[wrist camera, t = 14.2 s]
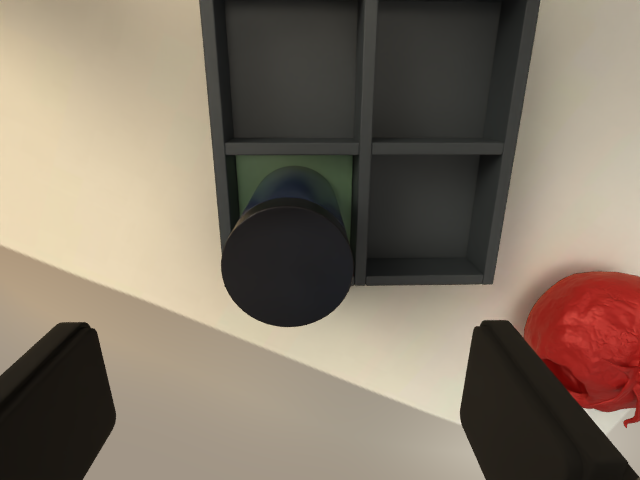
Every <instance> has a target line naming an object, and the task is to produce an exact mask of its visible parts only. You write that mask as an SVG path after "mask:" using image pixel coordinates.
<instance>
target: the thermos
mask: <svg viewBox="0 0 640 480" xmlns="http://www.w3.org/2000/svg"><path fill="white" fill-rule="evenodd" d="M221 272H222V278H223V281H224V284H225V287H226V289H227V291H228V293H229V295H230V296H231V298H232V299H233V301H234V302H235V303H236V304H237V305H238V307H240V308H241V309H242V310H243V311H244V312H245V313H247V314H248V315H249V316H251V317H253V318H255V319H256V320H258V321H261V322H263V323H266V324H270V325H274V326H280V327H298V326H303V325H307V324H310V323H314V322H316V321H318V320H320V319H322V318H324V317H325V316H327V315H329V314H330V313H331V312H332V311H334V310H335V309H336V308H337V307H338V306H339V305H340V303H341V302H342V301H343V299H344V298H345V296H346V295H347V293H348V291H349V288H350V286H351V283H352V279H353V273H354V260H353V255H352V251H351V247H350V244H349V240H348V237H347V233H346V230H345V226H344V223H343V219H342V216H341V212H340V209H339V205H338V202H337V198H336V195H335V192H334V190H333V188H332V186H331V185H330V183H329V182H328V181H327V180H326V178H324V177H323V176H322V175H321V174H320V173H318V172H317V171H315V170H313V169H310V168H307V167H303V166H286V167H282V168H279V169H276V170H274V171H272V172H271V173H269V174H268V175H267V176H266V177H265V178H264V179H263V180H262V181H261V182H260V183H259V185H258V187H257V188H256V190H255V192H254V194H253V195H252V197H251V199H250V201H249V202H248V204H247V206H246V208H245V209H244V211H243V213H242V215H241V216H240V218H239V220H238V222H237V223H236V225H235V227H234V229H233V230H232V232H231V234H230V236H229V237H228V239H227V242H226V244H225V246H224V249H223V253H222V259H221Z"/></svg>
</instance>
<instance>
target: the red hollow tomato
mask: <svg viewBox="0 0 640 480" xmlns="http://www.w3.org/2000/svg"><path fill="white" fill-rule="evenodd" d="M524 339H525V341H526V342H527V343H528V344H529V345H530V347H531V348H532V349H533V350H534V351H535V352H536V354H537V355H538V356H539V357H540V358H541V360H542V361H543V362H544V363H545V364H546V365H547V367H548V368H549V369H550V370H551V371H552V373H553V374H554V375H555V376H556V377H557V379H558V380H559V381H560V382H561V383H562V384H563V386H564V387H565V388H566V389H567V390H568V392H569V393H570V394H571V395H572V396H573V398H574V399H575V400H576V401H577V402H578V403H579V405H580V406H581V407H582V408H587V409H592V408H594V409H596V410H599V411H602V412H613V411H617V410H620V409H624V408H625V409H627V408H636V411H635V416H634V417H633V418H630V419H627V420H625V421H624V426H625V427H626V428H627V424H628V423H635V422H638V421H640V277H638V276H634V275H629V274H625V273H619V272H601V271H597V272H594V271H593V272H585V273H576V274H573V275H570V276H568V277H566V278H563V279H562V280H560V281H558V282H557V283H556V284H555V285H553V286H552V287H551V288H550V289H548V290H547V291H546V292H545V293H544V294H543V295H542V296H541V297H540V298H539V299H538V301H537V302H536V304H535V305H534V306H533V308H532V310H531V312H530V314H529V316H528V318H527V322H526V325H525V329H524Z"/></svg>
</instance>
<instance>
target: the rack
mask: <svg viewBox="0 0 640 480" xmlns="http://www.w3.org/2000/svg"><path fill="white" fill-rule="evenodd" d="M199 3H200V14H201V25H202V36H203V48H204V59H205V70H206V81H207V93H208V104H209V115H210V126H211V138H212V149H213V160H214V171H215V183H216V194H217V205H218V216H219V228H220V239H221V250H222V253H223V249H224V246H225V244H226V242H227V239H228V237H229V236H230V234H231V232H232V230H233V229H234V227H235V225H236V223H237V222H238V220H239V218H240V216H241V215H242V213H243V211H244V209H245V208H246V206H247V204H248V202H249V201H250V199H251V197H252V195H253V194H254V192H255V190H256V188H257V187H258V185H259V183H260V182H261V181H262V180H263V179H264V178H265V177H266V176H267V175H268V174H269V173H271V172H272V171H274V170H276V169H279V168H282V167H286V166H303V167H307V168H310V169H313V170H315V171H317V172H318V173H320V174H321V175H322V176H323V177H324V178H326V180H327V181H328V182H329V183H330V185H331V186H332V188H333V190H334V192H335V195H336V198H337V202H338V205H339V209H340V212H341V216H342V219H343V223H344V226H345V230H346V233H347V237H348V240H349V244H350V247H351V251H352V255H353V260H354V273H353V279H352V283H351V286H354V284H355V286H364V285H365V284H366V285H367V286H373V285H466V284H483V285H486V284H493V280H494V274H495V268H496V262H497V256H498V250H499V244H500V238H501V232H502V226H503V220H504V214H505V209H506V203H507V197H508V191H509V185H510V179H511V173H512V167H513V161H514V155H515V149H516V143H517V137H518V131H519V125H520V119H521V113H522V107H523V101H524V96H525V90H526V84H527V78H528V72H529V66H530V60H531V54H532V48H533V42H534V36H535V30H536V24H537V18H538V12H539V6H540V0H199Z"/></svg>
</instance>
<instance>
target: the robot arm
mask: <svg viewBox="0 0 640 480" xmlns="http://www.w3.org/2000/svg"><path fill="white" fill-rule="evenodd" d="M460 419H461V423H462V426H463V429H464V431H465V433H466V435H467V438H468V440H469V442H470V445H471V447H472V449H473V452H474V454H475V456H476V458H477V460H478V463H479V465H480V467H481V470H482V472H483V474H484V476H485V479H486V480H640V477H639V476H638V475H637V474H636V473H635V471H634V470H633V469H632V468H631V467H630V465H629V464H628V462H627V460H626V459H625V458H624V457H623V456H622V454H621V453H620V452H619V451H618V450H617V448H616V447H615V446H614V445H613V444H612V443H611V441H610V440H609V439H608V438H607V437H606V435H605V434H604V433H603V432H602V431H601V430H600V428H599V427H598V426H597V425H596V424H595V422H594V421H593V420H592V419H591V418H590V416H589V415H588V414H587V413H586V412H585V411H584V409H583V408H582V407H581V406H580V405H579V403H578V402H577V401H576V400H575V399H574V398H573V396H572V395H571V394H570V393H569V392H568V390H567V389H566V388H565V387H564V386H563V384H562V383H561V382H560V381H559V380H558V379H557V377H556V376H555V375H554V374H553V373H552V371H551V370H550V369H549V368H548V367H547V365H546V364H545V363H544V362H543V361H542V360H541V358H540V357H539V356H538V355H537V354H536V352H535V351H534V350H533V349H532V348H531V347H530V345H529V344H528V343H527V342H526V341H525V339H524V338H523V337H522V336H521V335H520V333H519V332H518V331H517V330H516V329H515V328H514V326H513V325H512V324H511V323H510V322H509V321H506V320H484V321H482V323H481V324H480V326H476V327H475V328H474V330H473V335H472V341H471V347H470V353H469V359H468V365H467V371H466V378H465V384H464V390H463V396H462V402H461V408H460ZM115 420H116V411H115V407H114V403H113V399H112V394H111V390H110V386H109V382H108V377H107V373H106V369H105V364H104V360H103V356H102V352H101V348H100V343H99V339H98V334H97V332H96V330H95V329H93V328H90V326H89V324H88V323H85V322H78V323H77V322H66V323H65V322H64V323H59V324H57V325H56V326H55V327H54V328H52V329H51V330H50V331H49V332H48V333H47V334H46V335H45V336H44V337H43V338H41V339H40V340H39V341H38V342H37V343H36V344H35V345H34V346H33V347H32V348H31V349H29V350H28V351H27V352H26V353H25V354H24V355H23V356H22V357H21V358H19V359H18V360H17V361H16V362H15V363H14V364H13V365H12V366H11V367H10V368H9V369H7V370H6V371H5V372H4V373H3V374H2V375H1V376H0V480H83V478H84V476H85V475H86V473H87V472H88V470H89V468H90V466H91V465H92V463H93V461H94V460H95V458H96V456H97V454H98V453H99V451H100V450H101V448H102V446H103V445H104V443H105V441H106V439H107V438H108V436H109V435H110V433H111V431H112V429H113V427H114V425H115Z"/></svg>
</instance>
